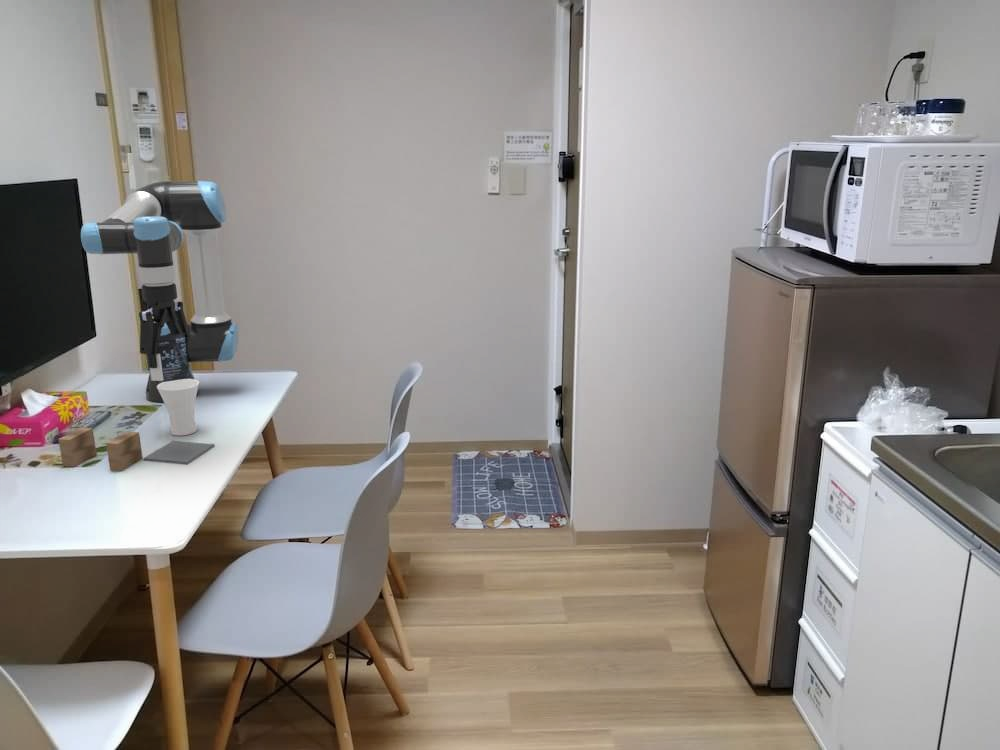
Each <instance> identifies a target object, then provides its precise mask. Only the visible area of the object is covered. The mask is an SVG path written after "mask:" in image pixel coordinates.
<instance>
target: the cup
mask: <svg viewBox="0 0 1000 750" xmlns="http://www.w3.org/2000/svg"><path fill="white" fill-rule="evenodd" d="M199 383H200V382H199V380H197V379H196V378H195V379H181V380H174V381H167V382H162V383H160V384H158V385H157V389H158V391H159V393H160V395H161V397H162V399H163V401H164V402H163V403H164V405H165V407H166V410H167V413H168V417H169V422H170V434H171V435H174V436H186V435H192V434H193V433H195V432H197V425H196V420H195V404H196V398H197V395H198V394H197V390H198V389H199Z"/></svg>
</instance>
